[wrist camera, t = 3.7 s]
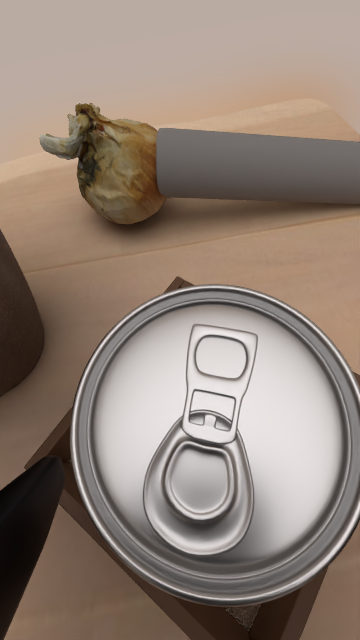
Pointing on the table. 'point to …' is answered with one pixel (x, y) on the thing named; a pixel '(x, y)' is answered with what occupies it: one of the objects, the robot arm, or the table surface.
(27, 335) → the flower pot
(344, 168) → the tv remote
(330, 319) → the table surface
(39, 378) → the table surface
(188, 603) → the square frame
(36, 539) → the robot arm
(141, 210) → the onion
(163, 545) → the can
